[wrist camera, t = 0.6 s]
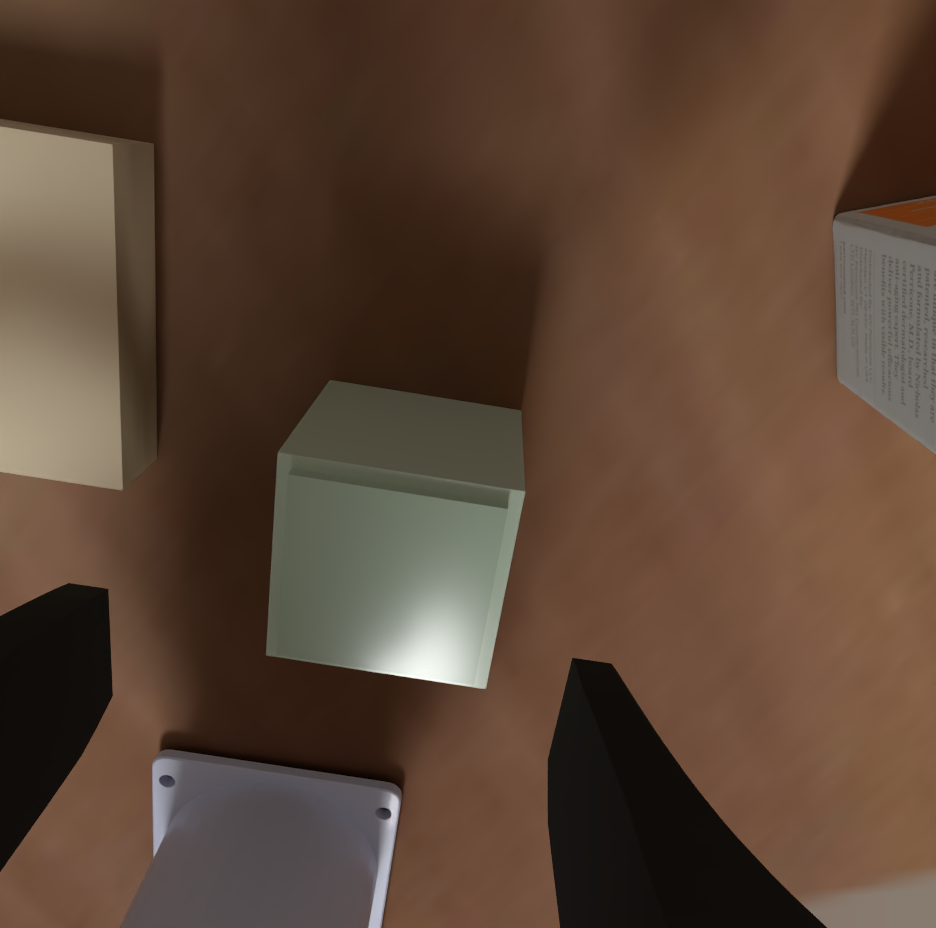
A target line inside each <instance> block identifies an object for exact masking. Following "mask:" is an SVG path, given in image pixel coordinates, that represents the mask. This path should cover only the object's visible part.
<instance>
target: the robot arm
mask: <svg viewBox="0 0 936 928" xmlns="http://www.w3.org/2000/svg"><path fill="white" fill-rule="evenodd" d="M112 696H113V693H112V669H111V645H110V621H109V597H108V589H105V588H98V587H91V586H84V585H78V584H71V583H68V584H66V585H63V586H61V587H59V588H56V589H54V590H52V591H50V592H48V593H46V594H44V595H41V596H39V597H37V598H35V599H33V600H31V601H29V602H27V603H25V604H23V605H21V606H19V607H17V608H15V609H13V610H11V611H9V612H7V613H5V614H4V615H2V616H0V871H1V870H2V869H3V867H4V866H5V864H6V863H7V861H8V860H9V859H10V857H11V856H12V854H13V853H14V852H15V850H16V849H17V847H18V846H19V844H20V843H21V842H22V840H23V839H24V837H25V836H26V835H27V833H28V832H29V830H30V829H31V827H32V826H33V825H34V823H35V822H36V820H37V819H38V818H39V816H40V815H41V813H42V812H43V810H44V809H45V808H46V806H47V805H48V803H49V802H50V801H51V799H52V798H53V796H54V795H55V793H56V792H57V790H58V789H59V788H60V786H61V785H62V783H63V782H64V780H65V779H66V777H67V776H68V775H69V773H70V772H71V770H72V769H73V767H74V766H75V764H76V763H77V761H78V760H79V758H80V757H81V755H82V754H83V752H84V750H85V748H86V746H87V744H88V743H89V741H90V739H91V737H92V735H93V733H94V732H95V730H96V728H97V726H98V724H99V722H100V720H101V718H102V716H103V714H104V712H105V710H106V708H107V706H108V704H109V702H110V700H111V698H112ZM167 775H168V776H171V777H172V778H170V777H168V776H167ZM152 796H153V860H152V862H151V864H150V867H149V869H148V871H147V873H146V875H145V877H144V879H143V881H142V883H141V885H140V887H139V889H138V891H137V893H136V895H135V897H134V899H133V901H132V903H131V905H130V908H129V910H128V912H127V914H126V916H125V918H124V920H123V922H122V924H121V926H120V928H381V926H382V920H383V913H384V907H385V901H386V894H387V888H388V882H389V875H390V869H391V862H392V856H393V850H394V843H395V837H396V831H397V824H398V818H399V812H400V805H401V799H402V792H401V790H400V788H399V787H398V786H396V785H395V784H393V783H389V782H384V781H377V780H371V779H364V778H357V777H351V776H344V775H337V774H331V773H324V772H317V771H311V770H304V769H298V768H291V767H284V766H278V765H271V764H264V763H258V762H251V761H244V760H238V759H231V758H224V757H218V756H211V755H204V754H198V753H191V752H185V751H178V750H163V751H160V752H159V753H158V754H157V756H156V758H155V759H154V761H153V764H152ZM380 808H387V809H389V810H383V809H380ZM548 827H549V837H550V846H551V854H552V863H553V872H554V880H555V888H556V896H557V905H558V913H559V921H560V928H827V927H826V926H825V925H824V924H823V923H821V922H820V921H819V920H818V919H817V918H816V917H815V916H814V915H813V914H812V913H811V912H810V911H809V910H808V909H806V908H805V907H804V906H803V905H802V904H801V903H800V902H799V901H798V900H797V899H796V898H795V897H794V896H793V895H792V894H791V893H790V892H789V891H788V890H787V889H786V888H785V887H784V886H783V885H782V884H781V883H780V882H779V881H778V880H777V879H776V878H775V877H774V876H773V875H772V874H771V873H770V872H769V871H768V870H767V869H766V868H765V867H764V866H763V865H762V864H761V863H760V861H759V860H758V859H757V858H756V857H755V856H754V855H753V854H752V853H751V852H750V851H749V850H748V849H747V847H746V846H745V845H744V844H743V843H742V842H741V841H740V840H739V839H738V838H737V837H736V836H735V834H734V833H733V832H732V831H731V830H730V829H729V827H728V826H727V825H726V824H725V823H724V822H723V820H722V819H721V818H720V817H719V816H718V814H717V813H716V812H715V811H714V809H713V808H712V807H711V806H710V805H709V803H708V802H707V801H706V800H705V798H704V797H703V796H702V795H701V793H700V792H699V791H698V790H697V788H696V787H695V786H694V784H693V783H692V782H691V780H690V779H689V778H688V776H687V775H686V774H685V772H684V771H683V769H682V768H681V767H680V765H679V764H678V762H677V761H676V760H675V758H674V757H673V755H672V754H671V753H670V751H669V750H668V748H667V747H666V746H665V744H664V743H663V741H662V740H661V738H660V737H659V735H658V734H657V733H656V731H655V730H654V728H653V727H652V725H651V724H650V722H649V721H648V719H647V717H646V716H645V714H644V713H643V711H642V710H641V708H640V707H639V705H638V704H637V702H636V701H635V699H634V697H633V696H632V694H631V693H630V691H629V690H628V688H627V686H626V685H625V683H624V682H623V680H622V679H621V677H620V675H619V674H618V672H617V671H616V669H615V668H614V667H613V665H612V664H610V663H603V662H597V661H590V660H583V659H576V658H572V662H571V666H570V670H569V674H568V679H567V683H566V687H565V691H564V695H563V699H562V703H561V708H560V712H559V716H558V720H557V724H556V728H555V732H554V737H553V741H552V745H551V749H550V753H549V757H548Z"/></svg>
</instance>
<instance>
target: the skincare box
mask: <svg viewBox="0 0 936 928" xmlns="http://www.w3.org/2000/svg"><path fill="white" fill-rule="evenodd" d="M833 242H834V263H835V294H836V351H837V378H838V380H839V381H840V382H841V383H842V384H843V385H845V386H846V387H847V388H848V389H850V390H851V391H852V392H854V393H855V394H856V395H858V396H859V397H860V398H862V399H863V400H864V401H866V402H867V403H868V404H870V405H871V406H872V407H874V408H875V409H877V410H878V411H879V412H880V413H881V414H883V415H884V416H885V417H887V418H888V419H890V420H891V421H892V422H894V423H895V424H896V425H897V426H899V427H900V428H901V429H903V430H904V431H905V432H907V433H908V434H909V435H911V436H912V437H913V438H915V439H916V440H917V441H919V442H920V443H921V444H923V445H924V446H925V447H927V448H928V449H929V450H931V451H932V452H933V453H935V454H936V196H930V197H925V198H920V199H915V200H908V201H903V202H898V203H892V204H887V205H882V206H877V207H871V208H866V209H860V210H854V211H848V212H844V213H840V214H838V215H837V216H836V217H835V219H834V221H833Z"/></svg>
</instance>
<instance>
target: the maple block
mask: <svg viewBox="0 0 936 928" xmlns="http://www.w3.org/2000/svg"><path fill="white" fill-rule="evenodd" d="M156 459H157V384H156V291H155V199H154V143H148V142H141V141H135V140H129V139H123V138H117V137H110V136H104V135H98V134H92V133H86V132H80V131H73V130H67V129H61V128H55V127H49V126H43V125H36V124H30V123H24V122H18V121H12V120H5V119H0V472H5V473H12V474H18V475H25V476H31V477H38V478H44V479H51V480H57V481H64V482H70V483H77V484H83V485H90V486H96V487H103V488H109V489H116V490H122V491H123V490H124V489H125V488H126V487H127V486H128V485H129V484H130V483H131V482H133V481H134V480H135V479H136V478H137V477H138V476H139V475H140V474H141V473H142V472H143V471H144V470H145V469H146V468H148V467H149V466H150V465H151V464H152V463H153V462H154V461H155V460H156Z"/></svg>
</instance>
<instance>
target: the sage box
mask: <svg viewBox="0 0 936 928" xmlns="http://www.w3.org/2000/svg"><path fill="white" fill-rule="evenodd" d="M524 496H525V475H524V454H523V434H522V413H521V410H516V409H509V408H503V407H497V406H491V405H484V404H478V403H472V402H466V401H459V400H453V399H447V398H441V397H434V396H428V395H422V394H415V393H409V392H403V391H397V390H390V389H384V388H378V387H372V386H365V385H359V384H353V383H346V382H340V381H334V380H329V382H328V383H327V385H326V386H325V387H324V389H323V390H322V391H321V393H320V394H319V396H318V397H317V398H316V400H315V401H314V403H313V404H312V405H311V407H310V408H309V410H308V411H307V412H306V414H305V415H304V416H303V418H302V419H301V421H300V422H299V423H298V425H297V426H296V428H295V429H294V430H293V432H292V433H291V435H290V436H289V437H288V439H287V440H286V441H285V443H284V444H283V446H282V447H281V448H280V450H279V451H278V455H277V472H276V490H275V507H274V524H273V541H272V558H271V576H270V593H269V610H268V627H267V645H266V655H267V656H273V657H280V658H286V659H293V660H299V661H306V662H312V663H319V664H325V665H332V666H338V667H345V668H351V669H358V670H364V671H371V672H377V673H384V674H390V675H397V676H403V677H410V678H416V679H423V680H429V681H436V682H442V683H449V684H455V685H462V686H468V687H475V688H481V689H486V685H487V680H488V675H489V670H490V665H491V660H492V655H493V650H494V645H495V640H496V635H497V630H498V625H499V620H500V615H501V610H502V605H503V600H504V595H505V590H506V585H507V580H508V575H509V570H510V565H511V560H512V555H513V550H514V545H515V540H516V535H517V530H518V525H519V520H520V515H521V510H522V505H523V500H524Z"/></svg>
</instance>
